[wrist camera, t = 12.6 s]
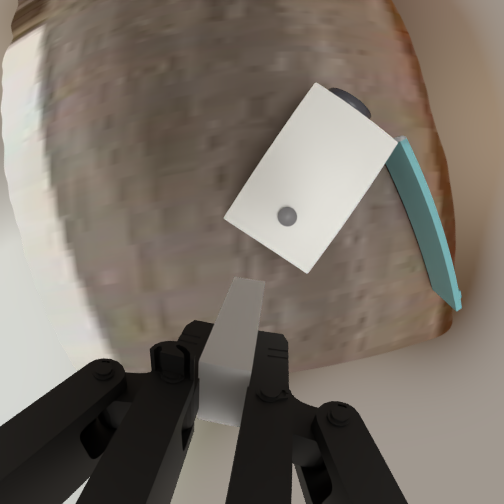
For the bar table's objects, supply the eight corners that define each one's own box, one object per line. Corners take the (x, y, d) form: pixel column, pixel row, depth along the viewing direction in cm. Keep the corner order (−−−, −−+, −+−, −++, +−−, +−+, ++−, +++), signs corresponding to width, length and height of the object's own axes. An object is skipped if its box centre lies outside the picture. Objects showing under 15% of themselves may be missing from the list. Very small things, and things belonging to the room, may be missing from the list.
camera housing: (313, 93, 34) (323, 70, 24) (379, 140, 34) (407, 132, 25) (236, 208, 39) (222, 219, 30) (302, 252, 40) (308, 276, 31)
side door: (375, 143, 34) (398, 137, 26) (385, 138, 33) (409, 131, 26) (432, 289, 38) (456, 311, 31) (440, 284, 38) (465, 304, 30)
